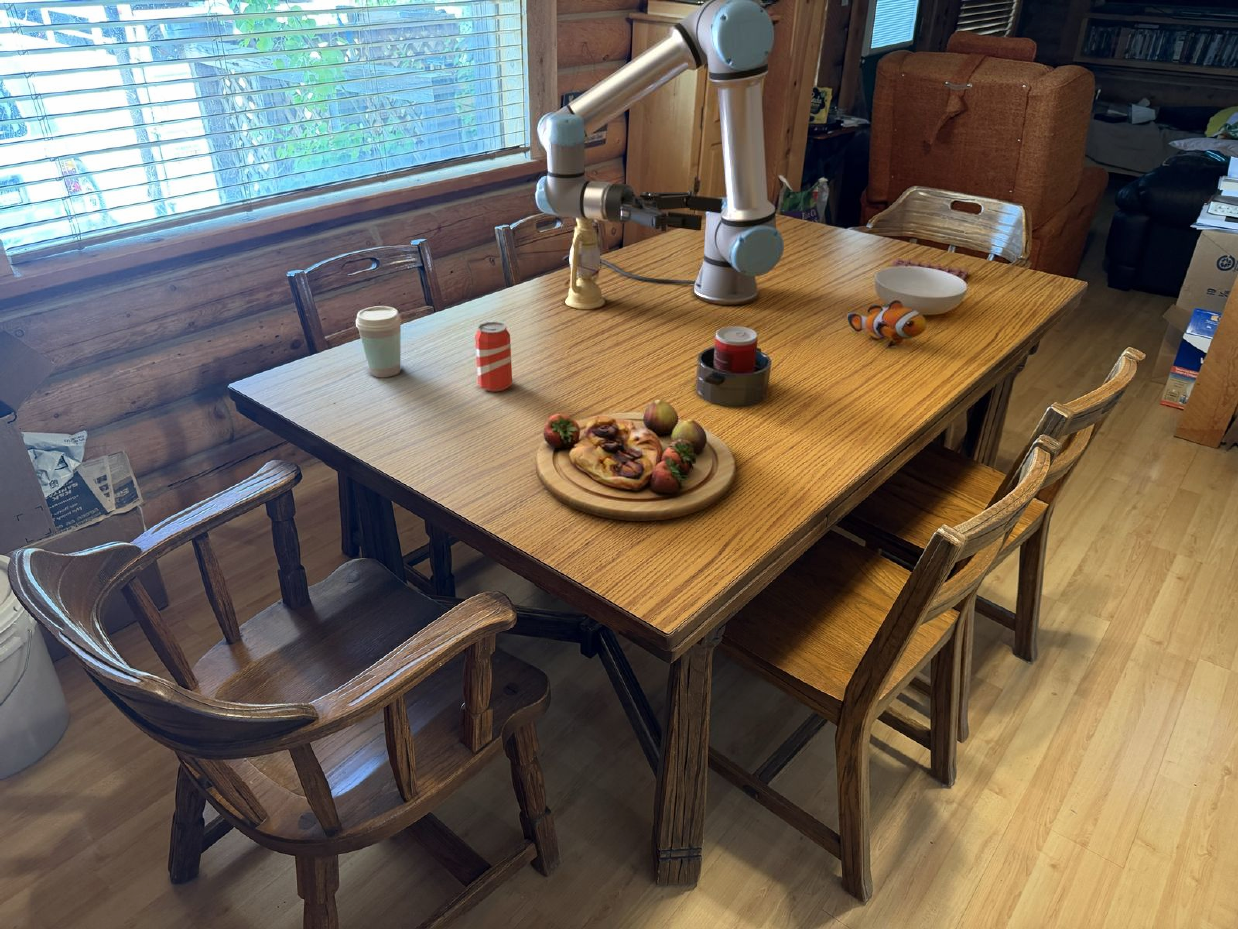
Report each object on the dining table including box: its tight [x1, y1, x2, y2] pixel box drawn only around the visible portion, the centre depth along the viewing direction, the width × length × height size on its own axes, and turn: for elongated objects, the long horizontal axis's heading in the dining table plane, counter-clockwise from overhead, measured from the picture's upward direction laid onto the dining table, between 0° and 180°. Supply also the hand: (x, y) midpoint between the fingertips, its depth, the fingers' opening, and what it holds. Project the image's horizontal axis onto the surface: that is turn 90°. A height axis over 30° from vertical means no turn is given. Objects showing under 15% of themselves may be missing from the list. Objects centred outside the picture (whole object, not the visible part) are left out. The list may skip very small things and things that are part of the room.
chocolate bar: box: [890, 257, 970, 281], centre depth 229 cm, size 7×19×2 cm, turn 61°
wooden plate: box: [535, 399, 737, 522], centre depth 139 cm, size 32×32×8 cm
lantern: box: [564, 170, 606, 310], centre depth 198 cm, size 12×10×30 cm
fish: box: [846, 300, 927, 349], centre depth 186 cm, size 10×18×10 cm, turn 44°
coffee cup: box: [355, 305, 403, 378], centre depth 168 cm, size 8×8×12 cm
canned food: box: [713, 325, 759, 374], centre depth 163 cm, size 8×8×11 cm
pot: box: [695, 345, 773, 408], centre depth 165 cm, size 14×14×6 cm
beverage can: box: [474, 321, 513, 393], centre depth 163 cm, size 6×6×12 cm
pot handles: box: [705, 347, 762, 386], centre depth 164 cm, size 3×18×1 cm, turn 147°
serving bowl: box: [873, 266, 969, 316], centre depth 205 cm, size 21×21×7 cm
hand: (711, 214), depth 170 cm, fingers open, 13 cm apart
